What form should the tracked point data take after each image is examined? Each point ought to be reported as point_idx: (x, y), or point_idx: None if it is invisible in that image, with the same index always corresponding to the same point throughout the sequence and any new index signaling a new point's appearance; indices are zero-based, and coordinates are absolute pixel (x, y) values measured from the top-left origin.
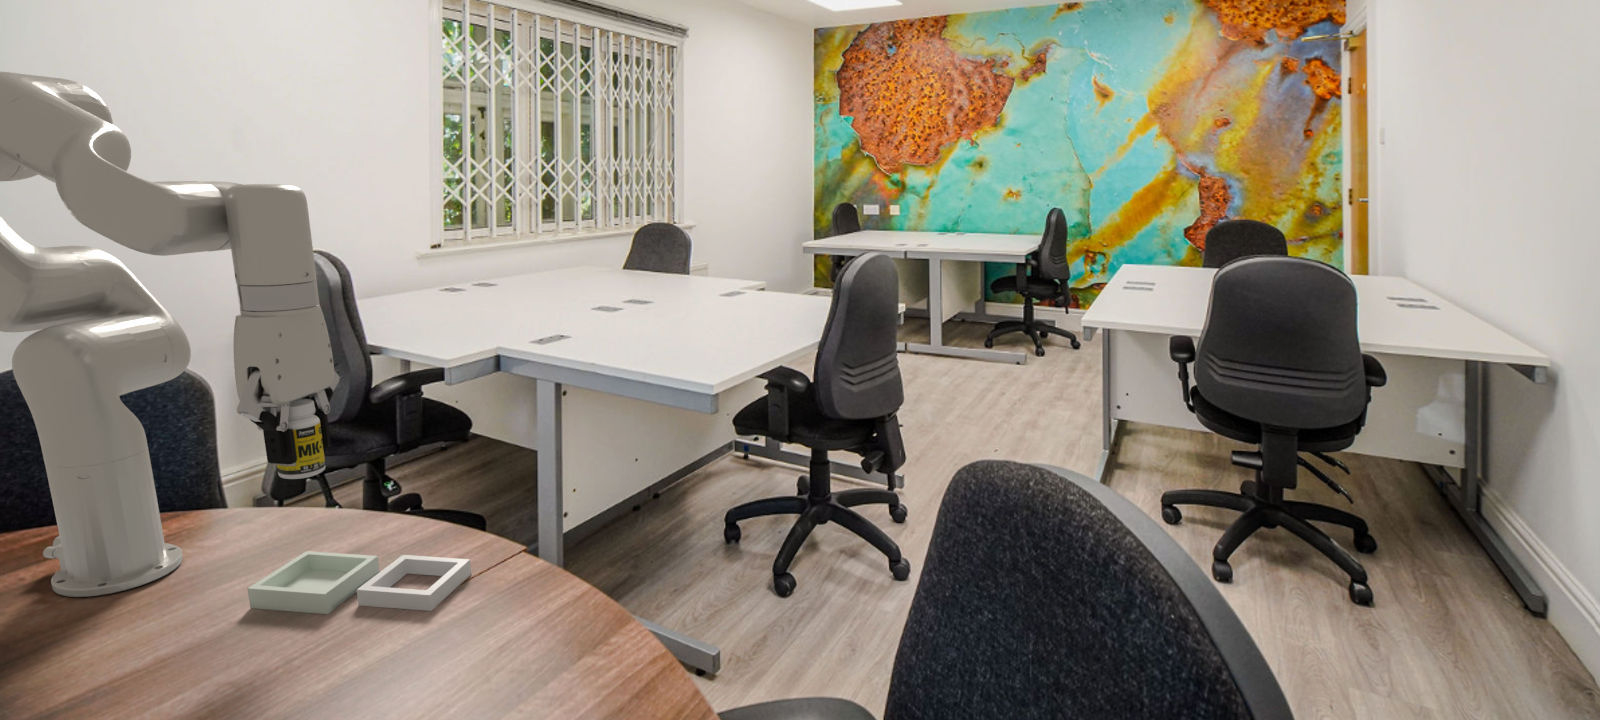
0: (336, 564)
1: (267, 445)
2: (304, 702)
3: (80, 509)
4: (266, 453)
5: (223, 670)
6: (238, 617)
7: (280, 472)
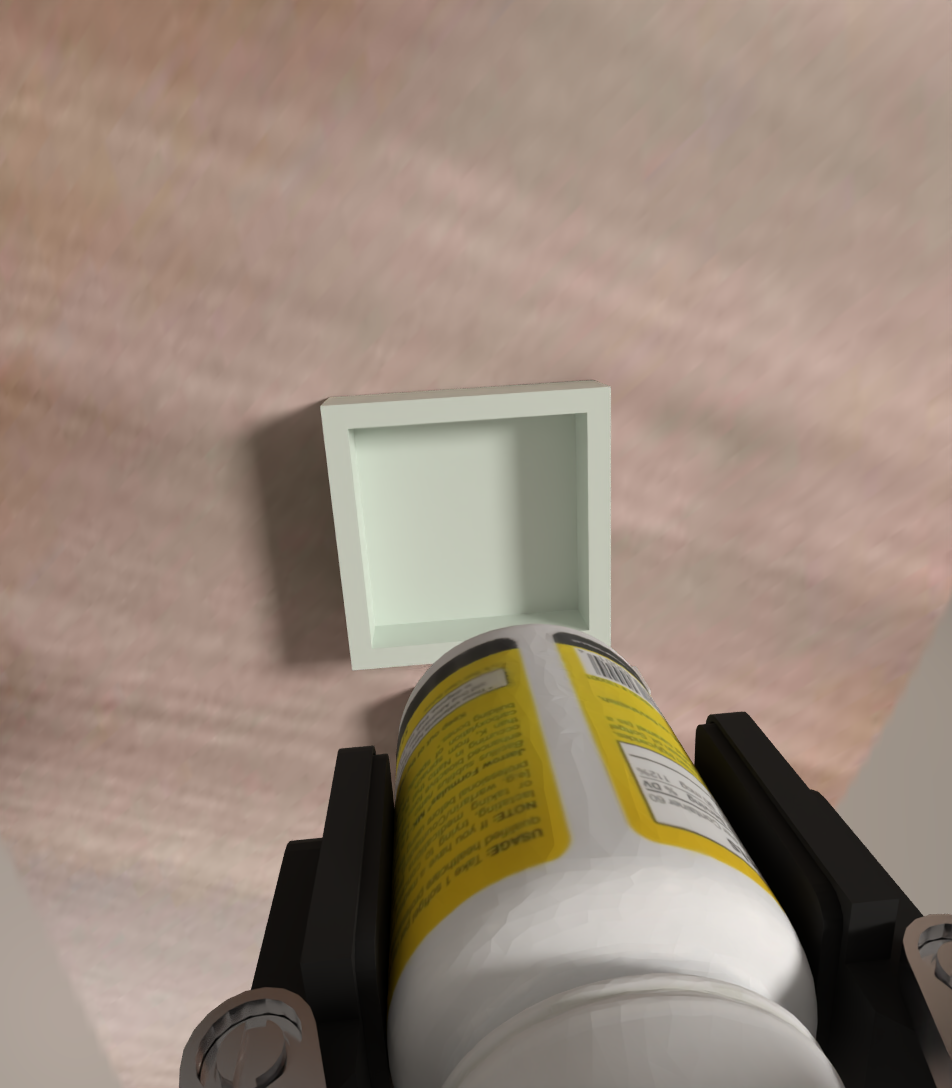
0: (581, 510)
1: (270, 914)
2: (27, 853)
3: None
4: (333, 783)
5: (49, 592)
6: (274, 405)
7: (403, 721)
